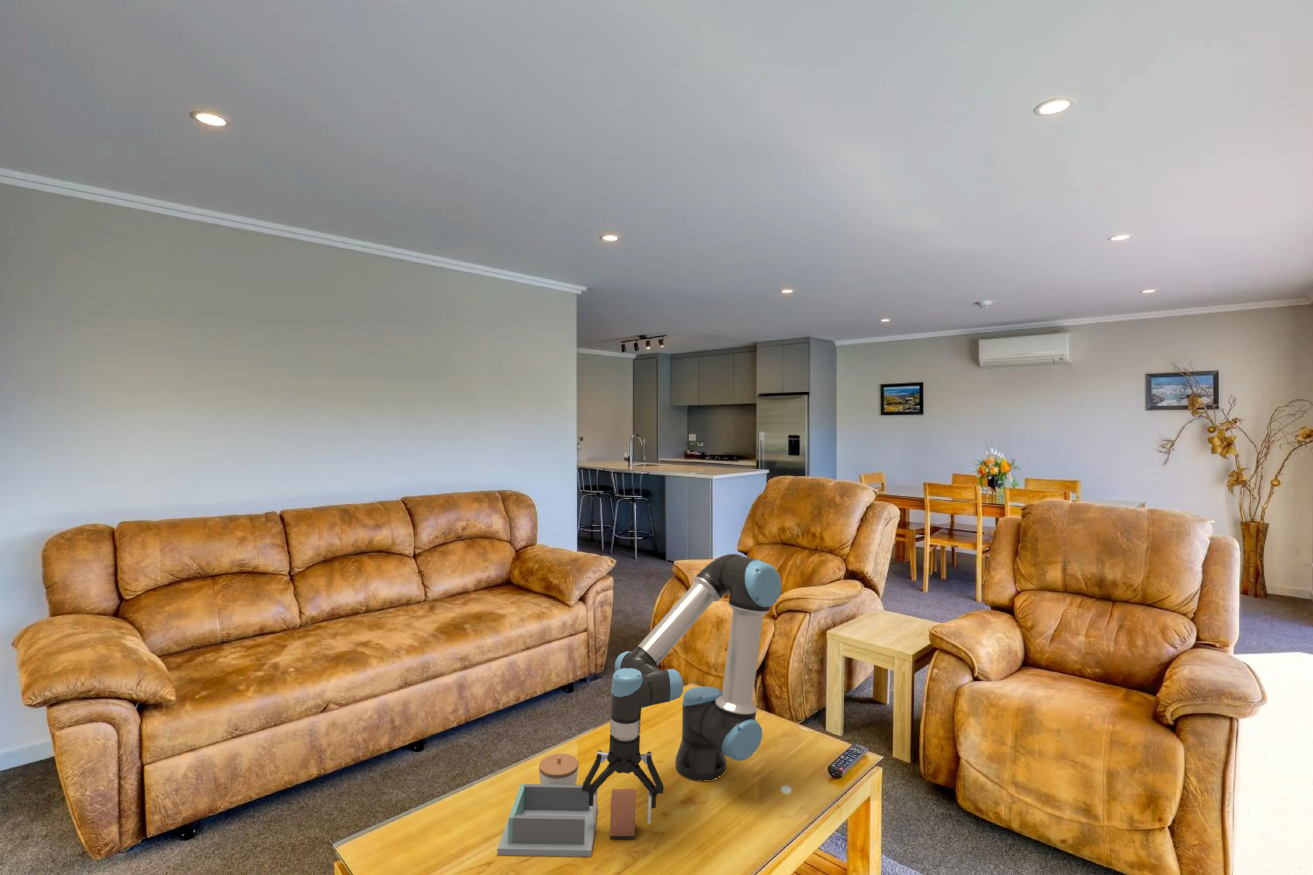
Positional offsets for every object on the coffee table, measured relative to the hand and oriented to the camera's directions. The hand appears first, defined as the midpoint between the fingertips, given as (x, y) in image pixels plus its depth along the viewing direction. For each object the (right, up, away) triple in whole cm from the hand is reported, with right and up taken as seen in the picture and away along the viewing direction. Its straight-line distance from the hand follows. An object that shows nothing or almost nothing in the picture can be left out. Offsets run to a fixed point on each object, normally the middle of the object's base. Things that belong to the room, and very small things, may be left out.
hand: (621, 818), depth 152 cm
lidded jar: (-18, -3, +17) cm, 25 cm away
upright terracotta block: (0, -3, 0) cm, 3 cm away
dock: (-18, -3, 0) cm, 18 cm away
